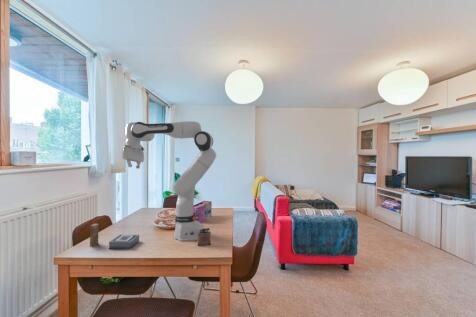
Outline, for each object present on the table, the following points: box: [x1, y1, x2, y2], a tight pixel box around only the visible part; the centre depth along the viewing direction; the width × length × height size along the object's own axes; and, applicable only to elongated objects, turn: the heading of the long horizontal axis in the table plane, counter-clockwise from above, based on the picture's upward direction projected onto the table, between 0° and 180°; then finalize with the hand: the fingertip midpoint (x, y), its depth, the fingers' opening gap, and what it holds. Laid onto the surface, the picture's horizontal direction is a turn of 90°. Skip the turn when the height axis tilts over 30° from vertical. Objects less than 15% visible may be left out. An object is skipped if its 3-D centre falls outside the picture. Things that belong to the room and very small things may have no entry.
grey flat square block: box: [108, 234, 140, 250], centre depth 138 cm, size 12×12×4 cm
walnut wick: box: [89, 223, 99, 247], centre depth 138 cm, size 2×4×12 cm, turn 1°
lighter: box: [197, 227, 212, 247], centre depth 140 cm, size 8×3×10 cm, turn 114°
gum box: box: [193, 200, 212, 224], centre depth 195 cm, size 24×8×14 cm, turn 164°
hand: (134, 167), depth 152 cm, fingers open, 8 cm apart
